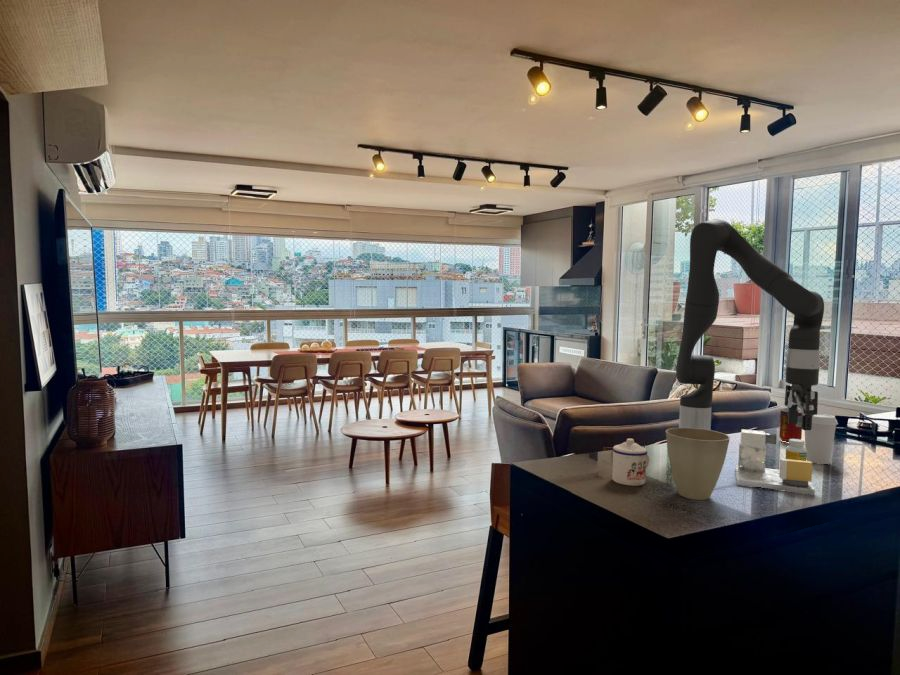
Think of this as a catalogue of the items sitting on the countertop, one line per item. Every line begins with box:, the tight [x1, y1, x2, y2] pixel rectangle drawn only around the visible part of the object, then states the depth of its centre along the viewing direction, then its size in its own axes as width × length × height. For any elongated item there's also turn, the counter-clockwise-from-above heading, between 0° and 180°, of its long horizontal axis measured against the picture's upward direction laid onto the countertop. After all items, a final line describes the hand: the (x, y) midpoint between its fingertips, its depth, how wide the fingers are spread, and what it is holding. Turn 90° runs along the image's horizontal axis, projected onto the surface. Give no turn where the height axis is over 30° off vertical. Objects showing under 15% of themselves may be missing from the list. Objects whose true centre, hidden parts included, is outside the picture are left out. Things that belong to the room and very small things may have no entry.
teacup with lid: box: [612, 438, 650, 487], centre depth 161 cm, size 12×9×12 cm
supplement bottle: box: [785, 439, 807, 461], centre depth 174 cm, size 5×5×10 cm
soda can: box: [778, 407, 803, 442], centre depth 216 cm, size 7×7×12 cm
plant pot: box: [665, 427, 731, 501], centre depth 149 cm, size 15×15×16 cm
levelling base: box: [735, 428, 816, 496], centre depth 163 cm, size 18×18×12 cm
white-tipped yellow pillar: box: [779, 458, 813, 486], centre depth 157 cm, size 7×6×6 cm
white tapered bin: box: [804, 412, 839, 465], centre depth 187 cm, size 10×10×15 cm
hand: (799, 426), depth 157 cm, fingers open, 8 cm apart
